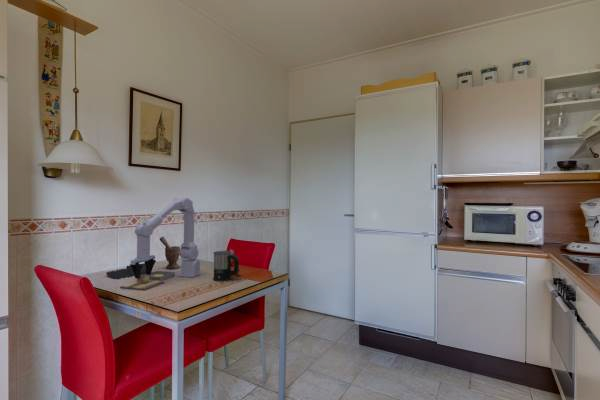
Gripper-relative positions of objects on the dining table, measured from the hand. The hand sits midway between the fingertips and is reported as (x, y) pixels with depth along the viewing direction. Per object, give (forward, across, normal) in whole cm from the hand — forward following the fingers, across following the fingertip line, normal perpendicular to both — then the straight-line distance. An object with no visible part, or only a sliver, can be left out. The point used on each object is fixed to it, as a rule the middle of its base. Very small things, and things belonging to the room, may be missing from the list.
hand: (143, 276), depth 153 cm
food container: (+5, -53, +19) cm, 56 cm away
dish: (+4, -15, -3) cm, 16 cm away
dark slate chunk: (+5, -18, -24) cm, 30 cm away
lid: (+4, 0, 0) cm, 4 cm away
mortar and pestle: (+5, -36, -11) cm, 38 cm away
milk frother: (+5, -26, +32) cm, 42 cm away
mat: (+4, 0, 0) cm, 4 cm away
